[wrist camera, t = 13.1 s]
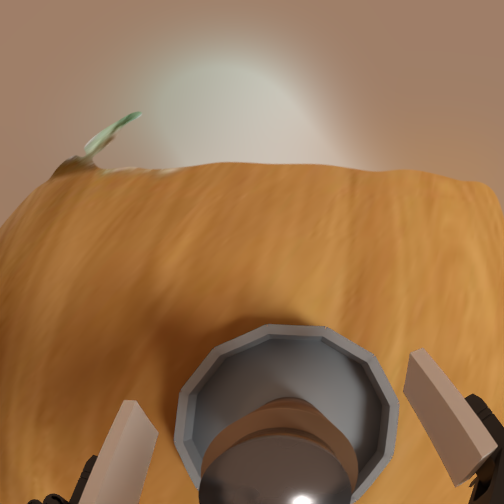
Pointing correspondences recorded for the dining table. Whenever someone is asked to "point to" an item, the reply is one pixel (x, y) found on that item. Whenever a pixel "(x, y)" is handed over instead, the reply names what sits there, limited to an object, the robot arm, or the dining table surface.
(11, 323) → the dining table surface
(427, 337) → the dining table surface
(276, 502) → the pepper mill
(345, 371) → the round grey tray
